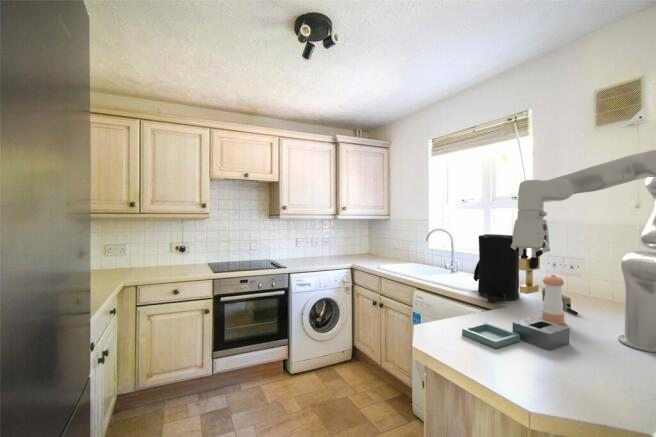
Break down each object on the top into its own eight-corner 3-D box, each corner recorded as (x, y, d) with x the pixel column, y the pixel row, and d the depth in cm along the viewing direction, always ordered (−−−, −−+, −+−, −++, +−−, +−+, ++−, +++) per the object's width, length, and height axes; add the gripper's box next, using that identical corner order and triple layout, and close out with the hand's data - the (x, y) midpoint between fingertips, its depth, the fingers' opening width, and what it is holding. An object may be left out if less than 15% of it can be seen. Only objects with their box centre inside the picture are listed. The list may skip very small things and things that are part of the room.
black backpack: (514, 290, 175) (514, 233, 175) (536, 306, 144) (537, 236, 144) (472, 288, 181) (472, 232, 181) (484, 303, 150) (485, 236, 150)
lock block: (569, 343, 102) (569, 327, 102) (549, 350, 97) (549, 334, 97) (532, 331, 113) (532, 317, 113) (512, 337, 107) (512, 322, 107)
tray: (519, 341, 104) (519, 334, 104) (495, 349, 98) (495, 341, 98) (485, 329, 115) (485, 322, 115) (462, 335, 109) (462, 328, 109)
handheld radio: (548, 300, 155) (581, 316, 130) (541, 300, 155) (572, 316, 131) (548, 287, 155) (580, 301, 130) (541, 287, 155) (572, 301, 131)
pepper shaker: (568, 324, 120) (568, 277, 120) (547, 323, 121) (547, 276, 121) (558, 318, 127) (558, 273, 127) (538, 317, 129) (539, 273, 128)
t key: (526, 294, 102) (526, 259, 102) (518, 292, 104) (518, 258, 104) (539, 291, 106) (539, 257, 106) (532, 289, 108) (532, 256, 108)
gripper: (562, 215, 99) (561, 271, 99) (513, 215, 114) (512, 263, 114) (549, 215, 96) (548, 272, 96) (501, 215, 110) (500, 265, 110)
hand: (529, 267), depth 105 cm, fingers closed on t key, 2 cm apart
